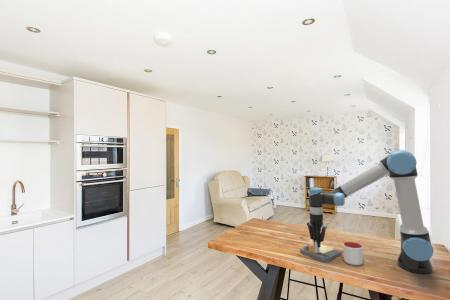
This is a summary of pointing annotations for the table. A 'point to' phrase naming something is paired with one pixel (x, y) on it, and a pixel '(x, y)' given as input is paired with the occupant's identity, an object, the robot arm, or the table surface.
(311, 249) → the toggle
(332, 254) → the gray square tray
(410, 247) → the robot arm
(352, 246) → the cup
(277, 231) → the table surface
